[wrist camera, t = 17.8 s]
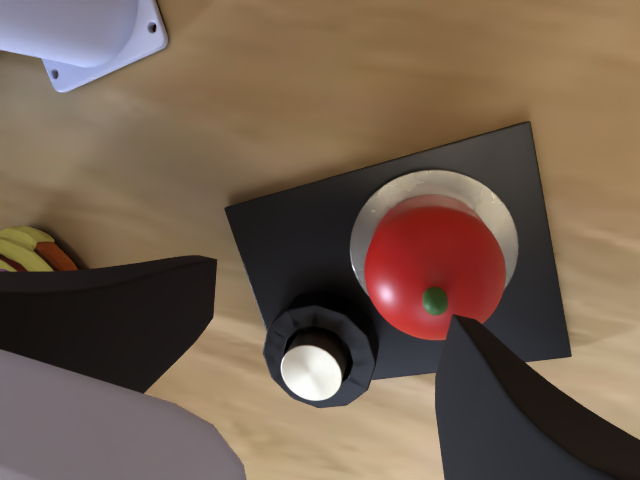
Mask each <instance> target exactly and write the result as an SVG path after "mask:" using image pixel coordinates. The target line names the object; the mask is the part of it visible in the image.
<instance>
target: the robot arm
mask: <svg viewBox="0 0 640 480" xmlns="http://www.w3.org/2000/svg"><path fill="white" fill-rule="evenodd" d="M155 24H156V26H157V29H156V32H155V33H154V32H153V26H154V25H155ZM167 44H168V35H167V33H166V30H165V27H164V24H163V21H162V18H161V15H160V12H159V9H158V6H157V3H156V1H155V0H0V50H4V51H9V52H14V53H19V54H24V55H29V56H34V57H39V58H42V61H43V63H44V66H45V68H46V71H47V73H48V75H49V78H50V80H51V83H52V85H53V87H54V89H55V90H56V91H58V92H68V91H70V90H73V89H75V88H77V87H79V86H82V85H84V84H86V83H88V82H90V81H93V80H95V79H97V78H99V77H102V76H104V75H106V74H108V73H110V72H113V71H115V70H117V69H119V68H122V67H124V66H126V65H128V64H130V63H133V62H135V61H137V60H139V59H141V58H144V57H146V56H148V55H150V54H153V53H155V52H157V51H159V50H161V49H164V48H165V47H166V46H167ZM57 71H58V74H59V75H58V77H57ZM216 268H217V259H213V258H208V257H204V256H200V255H191V256H180V257H173V258H166V259H160V260H154V261H148V262H141V263H135V264H127V265H120V266H112V267H105V268H96V269H85V270H70V271H17V272H13V271H0V480H246V475H245V470H244V465H243V463H242V462H241V460H240V458H239V457H238V456H237V455H236V453H235V452H234V451H233V449H232V448H231V447H230V446H229V444H228V443H227V442H226V441H225V439H224V438H223V437H222V435H221V434H220V433H219V432H218V430H217V429H216V428H215V427H214V425H213V424H211V423H209V422H207V421H205V420H204V419H202V418H200V417H198V416H196V415H195V414H193V413H191V412H189V411H188V410H186V409H184V408H182V407H180V406H179V405H177V404H175V403H172V402H168V401H165V400H162V399H159V398H155V397H152V396H149V395H146V394H144V393H145V392H146V391H147V390H148V389H149V388H150V387H151V386H152V385H153V384H154V383H155V382H156V381H157V380H158V379H159V378H160V377H161V376H162V375H163V374H164V373H165V372H166V371H167V370H168V369H169V368H170V367H171V366H172V365H173V364H174V363H175V362H176V361H177V360H178V359H179V358H180V357H181V356H182V355H183V354H184V353H185V352H186V351H187V350H188V349H189V348H190V347H191V346H192V345H193V344H194V343H195V342H196V340H197V339H198V338H199V336H200V335H201V334H202V333H203V331H204V330H205V329H206V327H207V326H208V324H209V323H210V321H211V320H212V319H213V313H214V298H215V283H216ZM435 409H436V418H437V426H438V433H439V441H440V448H441V456H442V463H443V471H444V478H445V480H640V440H639V439H637V438H635V437H633V436H632V435H630V434H628V433H627V432H625V431H623V430H621V429H620V428H618V427H616V426H615V425H613V424H611V423H609V422H608V421H606V420H604V419H603V418H601V417H599V416H598V415H596V414H595V413H593V412H592V411H590V410H588V409H587V408H585V407H584V406H582V405H581V404H579V403H578V402H577V401H575V400H574V399H572V398H571V397H569V396H568V395H566V394H565V393H563V392H562V391H561V390H559V389H558V388H556V387H555V386H554V385H552V384H551V383H550V382H548V381H547V380H546V379H545V378H543V377H542V376H541V375H540V374H538V373H537V372H536V371H535V370H533V369H532V368H531V367H530V366H529V365H527V364H526V363H525V362H524V361H523V360H521V359H520V358H519V357H518V356H517V355H516V354H515V353H514V352H512V351H511V350H510V349H509V348H508V347H507V346H506V345H505V344H504V343H502V342H501V341H500V340H499V339H498V338H497V337H496V336H495V335H494V334H493V333H492V332H491V331H489V330H488V329H487V328H486V327H485V326H484V325H483V324H481V323H480V322H479V321H477V320H476V319H472V318H468V317H464V316H459V315H455V314H453V315H452V318H451V322H450V325H449V329H448V333H447V336H446V340H445V343H444V347H443V351H442V354H441V358H440V361H439V365H438V369H437V372H436V378H435Z"/></svg>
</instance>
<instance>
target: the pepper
mask: <svg viewBox="0 0 640 480" xmlns="http://www.w3.org/2000/svg"><path fill="white" fill-rule="evenodd" d="M364 275H365V282H366V287H367V291H368V294H369V297H370V299H371V301H372V303H373V304H374V306H375V307H376V309H377V310H378V312H379V313H380V314H381V315H382V317H383V318H384V319H385V320H386V321H387V322H389V323H390V324H391V325H392V326H394V327H395V328H397V329H398V330H400V331H402V332H404V333H406V334H408V335H411V336H413V337H417V338H420V339H426V340H446V336H447V333H448V329H449V325H450V322H451V318H452V315H453V314H455V315H459V316H464V317H468V318H472V319H476V320H477V321H479V322H480V323H481V324H483V323H484V322H485V321H486V320H487V319H488V318H489V317H490V316H491V315H492V313H493V312H494V311H495V309H496V307H497V306H498V304H499V302H500V300H501V297H502V294H503V291H504V287H505V282H506V267H505V260H504V256H503V253H502V250H501V248H500V246H499V243H498V241H497V240H496V238H495V237H494V235H493V233H492V232H491V231H490V230H489V228H488V227H487V226H486V224H485V223H484V222H483V221H482V219H481V218H480V217H479V216H478V215H477V213H476V212H474V211H473V210H472V209H471V208H470V207H468V206H467V205H465V204H464V203H462V202H460V201H458V200H456V199H453V198H450V197H446V196H441V195H423V196H417V197H414V198H410V199H408V200H405V201H403V202H401V203H399V204H398V205H396V206H395V207H393V208H392V209H391V210H390V211H389V212H388V213H387V214H386V215H385V216H384V217H383V218H382V220H381V221H380V222H379V224H378V226H377V228H376V230H375V233H374V235H373V238H372V240H371V242H370V245H369V248H368V250H367V254H366V258H365V266H364Z"/></svg>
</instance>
